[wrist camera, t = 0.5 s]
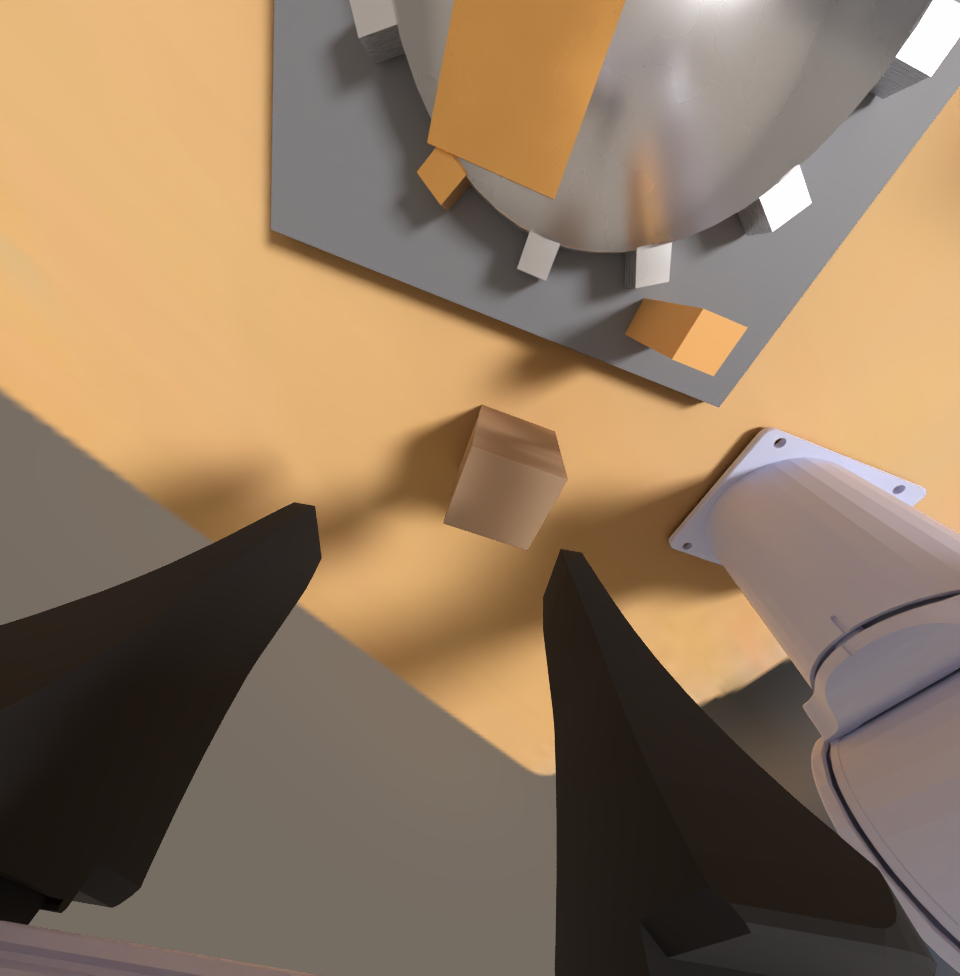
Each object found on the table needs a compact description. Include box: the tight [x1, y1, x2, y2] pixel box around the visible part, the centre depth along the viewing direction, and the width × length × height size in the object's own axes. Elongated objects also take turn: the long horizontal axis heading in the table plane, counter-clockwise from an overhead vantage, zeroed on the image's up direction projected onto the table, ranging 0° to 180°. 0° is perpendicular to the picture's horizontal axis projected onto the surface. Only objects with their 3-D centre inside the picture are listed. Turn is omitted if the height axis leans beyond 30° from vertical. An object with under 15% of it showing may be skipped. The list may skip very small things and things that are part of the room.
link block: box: [444, 405, 568, 550], centre depth 17 cm, size 4×4×5 cm
